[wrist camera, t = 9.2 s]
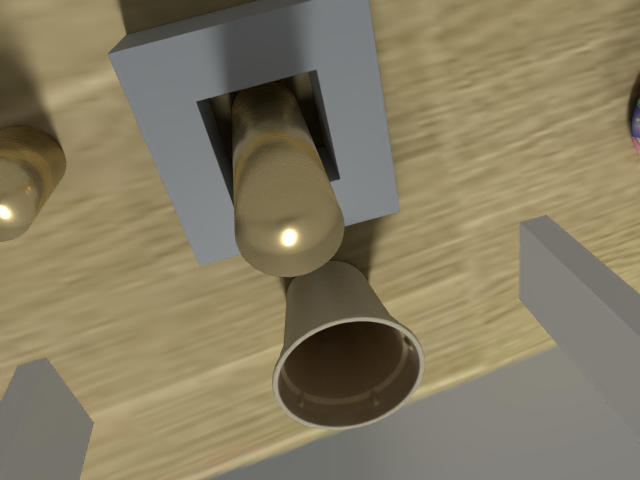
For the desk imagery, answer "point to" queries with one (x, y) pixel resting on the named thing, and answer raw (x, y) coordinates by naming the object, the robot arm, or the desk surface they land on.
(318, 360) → the flower pot
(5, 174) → the short pin
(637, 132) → the mug
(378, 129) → the slate block
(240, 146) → the long pin
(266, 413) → the desk surface
